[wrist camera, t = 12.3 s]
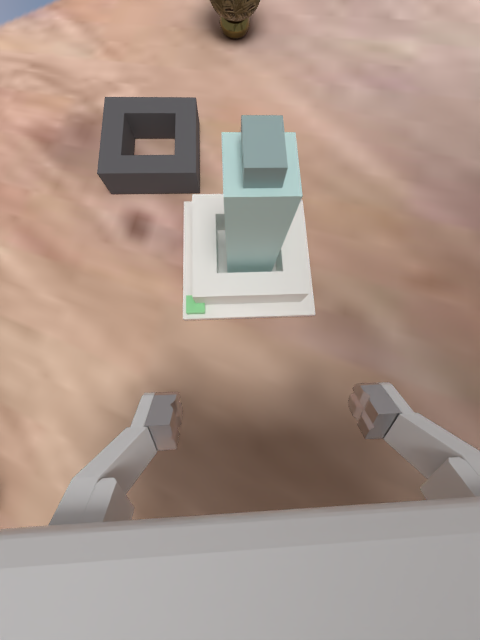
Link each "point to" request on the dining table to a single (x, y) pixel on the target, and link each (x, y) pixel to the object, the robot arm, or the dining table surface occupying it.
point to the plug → (259, 191)
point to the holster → (149, 122)
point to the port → (242, 287)
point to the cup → (235, 15)
